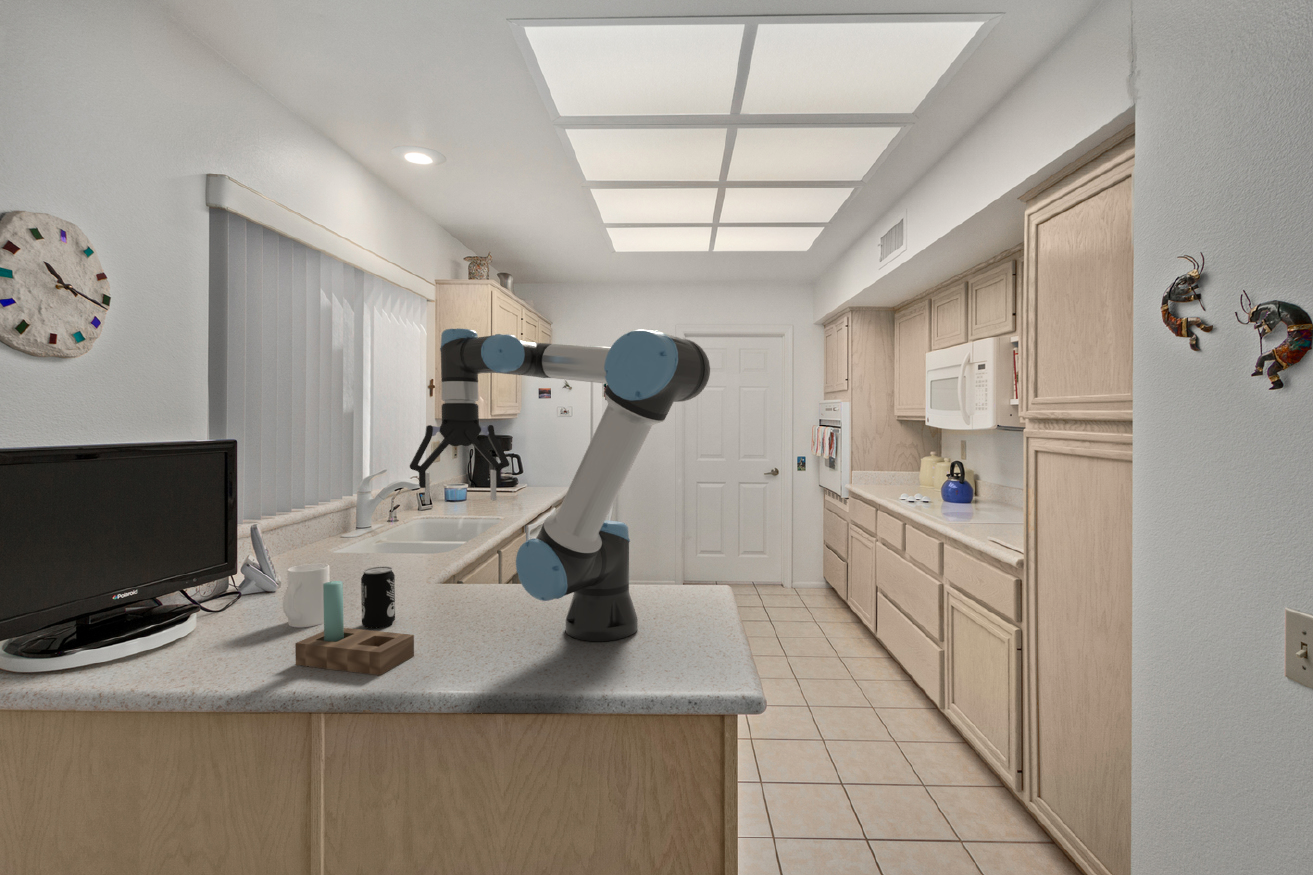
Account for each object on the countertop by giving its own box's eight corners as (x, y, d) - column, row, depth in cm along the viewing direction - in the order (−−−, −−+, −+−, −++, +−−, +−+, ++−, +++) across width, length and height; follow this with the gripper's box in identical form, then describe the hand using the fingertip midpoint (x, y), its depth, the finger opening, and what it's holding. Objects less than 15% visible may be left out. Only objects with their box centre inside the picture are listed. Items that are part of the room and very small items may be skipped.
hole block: (414, 655, 113) (413, 634, 112) (380, 675, 104) (380, 652, 104) (334, 647, 117) (334, 626, 117) (295, 665, 108) (295, 643, 108)
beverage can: (382, 630, 127) (381, 573, 126) (354, 628, 128) (354, 572, 128) (401, 620, 133) (400, 566, 133) (375, 618, 134) (374, 565, 134)
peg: (348, 655, 113) (346, 581, 112) (334, 662, 110) (333, 586, 109) (334, 654, 114) (332, 580, 113) (320, 660, 111) (319, 584, 110)
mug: (265, 633, 125) (264, 576, 125) (302, 615, 137) (301, 563, 137) (304, 634, 125) (303, 576, 124) (337, 616, 137) (336, 563, 136)
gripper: (515, 403, 137) (515, 496, 138) (396, 402, 127) (397, 502, 127) (522, 402, 131) (523, 500, 131) (397, 401, 120) (398, 507, 120)
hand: (461, 501), depth 129 cm, fingers open, 13 cm apart
